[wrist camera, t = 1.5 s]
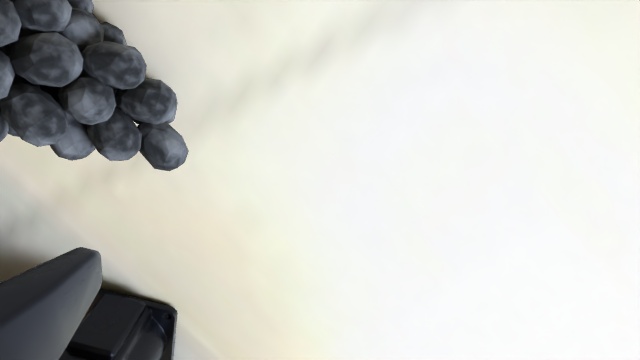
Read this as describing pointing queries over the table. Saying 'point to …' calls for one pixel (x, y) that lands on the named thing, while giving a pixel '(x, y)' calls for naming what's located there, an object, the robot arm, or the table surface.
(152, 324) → the robot arm
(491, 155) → the table surface
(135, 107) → the fruit
